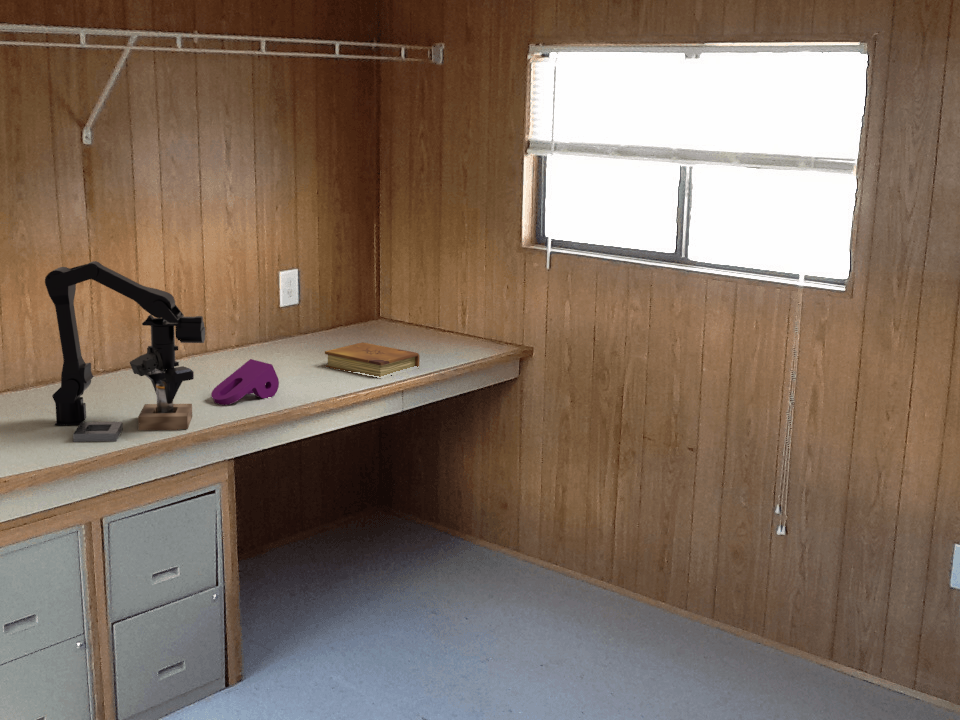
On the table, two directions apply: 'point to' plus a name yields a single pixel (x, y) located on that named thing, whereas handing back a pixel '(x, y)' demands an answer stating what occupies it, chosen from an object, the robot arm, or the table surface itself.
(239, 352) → the table surface
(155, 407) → the socket block
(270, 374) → the mounting bracket
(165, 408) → the steel pin
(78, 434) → the pin mount
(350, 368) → the diary
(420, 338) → the table surface
